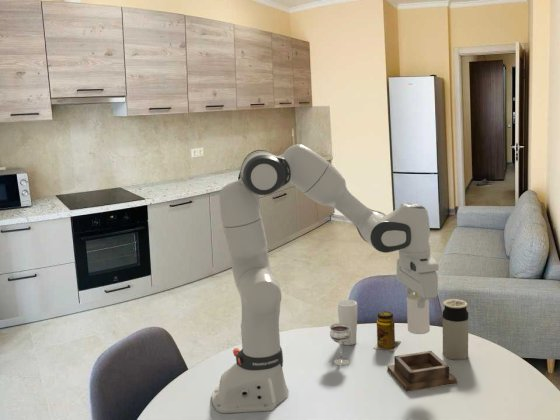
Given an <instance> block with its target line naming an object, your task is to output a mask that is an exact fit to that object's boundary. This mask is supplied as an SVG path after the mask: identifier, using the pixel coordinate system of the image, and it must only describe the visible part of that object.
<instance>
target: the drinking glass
mask: <svg viewBox="0 0 560 420" xmlns="http://www.w3.org/2000/svg"><path fill="white" fill-rule="evenodd" d="M337 316H338V323H342V324H347V325H349V326H350V329H349V330H350V332H351V335H350V338H349V339H348V340H347V341H346V342H344V343H343V344H342V345H344V346H353V345H355V344H357V330H358V329H357V327H358V302H357V301H356V300H353V299H342V300H340V301H338V302H337Z"/></svg>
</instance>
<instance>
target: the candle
mask: <svg viewBox="0 0 560 420" xmlns="http://www.w3.org/2000/svg"><path fill="white" fill-rule="evenodd" d="M418 300H419V297H418V294H417V293H415V292H414V293H410V294H407V295H406V311H407V313H406V315H407V317H406V318H407V331H408V332H409V333H410V334H413V335H426V334H428V333H429V332H430V330H431V329H430V327H431V325H430V323H431V322H430V299H427V300H426V301H425V307H424V308H419V307H418Z"/></svg>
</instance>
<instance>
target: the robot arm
mask: <svg viewBox="0 0 560 420" xmlns="http://www.w3.org/2000/svg"><path fill="white" fill-rule="evenodd" d="M237 179H238V180H235V181H233V182H229V183H227V184H226V185H225V186H223V187H222V188H221V189H220V191H219V195H218V197H219V199H218V200H219V212H220V213H219V214H220V218H221V223H222V228H223V232H224V235H225V240H226V245H227V249H228V253H229V258H230V264H231V265H230V266H231V269H232V276H233V279H234V283H235V288H236V290H237V292H238V293H239V297H240V302H241V319H240V320H241V321H240V334H241V336H240V337H241V345H242V346H241V348H242V349H241V350H240V349H239V348H238V347H236V348H235V347H234V349H233V350H232V353H233V356H234V357H235V361H236V362H235V363H234V364H233V365H232V366H231V367H230V368H228V369H227V370H226V371H224V372H223V373H222V374H221V377H220V380H219V384H218V386H217V387H215V388H214V389H213V392H212V395H211V402H212V405H213V408H214V410H215V411H217V412H218V413H220V414H231V413H249V412H251V413H252V412H267V411H270V412H271V411H273V410H274V409H275V408H276V407H277V405H279V404H280V403H282V402H283V401H284V400H286V399H287V397H288V396H289V388H288V386H287V383H286V380H285V375H284V370H283V365H284V355H283V349H282V347H281V336H280V335H281V334H280V316H281V315H280V313H281V303H282V288H281V285H280V282H279V281H278V280H277V278H276V277H275V276H274V273H273V272H272V269H271V265H270V259H269V250H268V243H269V242H268V240H267V236H266V235H267V234H266V230H265V225H264V221H263V217H262V211H261V208H260V197H261V196H267V195H272V194H273V193H275V192H277V191H278V190H280V189H281V188H282V187H285V186H286V185H287V184H288V183H289V184H291V185H292V186H293V187H296V188H297V189H298V190H299V191H300V192H301V193H302V194H303V195H305V196H306V197H307V198H309V199H310V200H312V201H314V202H315V203H317V204H319V205H321V206H324V207H326V206H327V207H330V208H333V209H335V210H336V211H337V212H339V213H340V214H341V215H343V216H344V217H345V218H346V219H348V220H349V221H350V222H351V223H352V224H353V225H354V226H355V228H356V230H357V233H358V234H359V236H360V237H361V238H362V240H363V241H365V242H366V243H368V244H369V245H370V246H371V247H372V248H374V249H375V250H376V251H377V252H380V253H385V254H386V253H388V254H389V253H393V252H396V251H398V255H399V256H398V257H399V258H397V261H396V278H397V281H399V282H400V283H401V284H403V285H404V286H405V291H406V294H407V295H408V294H410V293H417V294H418V297H419V300H418V307H419V308H424V307H425V301H426V300H427V299H429V300H433V299H436V298H437V296H438V294H439V293H438V292H439V283H438V282H439V279H438V278H439V277H438V273H437V271H439V263H438V262H437V260H435V258H434V256H433V255H432V253H431V246H430V242H429V239H430V236H431V229H430V218H429V217H430V216H429V212H428V210H427V209H426V207H425V206H422V205H420V204H417V203H410V202H409V203H408V202H405V203H400V204H399V206H398V207H397V208H396V209H394V210H393V211H392V212H390V213H388V214H385V213H384V212H381V211H378V210H374V209H371V208H369V207H367V205H364V204H363V203H362V202H361V201H360V200H359V199H358V198H356V197H355V196H354V195H353V194H352V192H350V191H349V190H348V187H347V184H346V180H345V178H344V177H343V175H342V174H341V173H340V171H339V170H338V169H336V167H334V166H333V164H332V163H330V162H329V161H328V160H327V159H325V158H324V157H323V156H321V155H320V154H319V153H317V152H315V150H312V149H311V148H309V147H308V146H305V145H304V144H300V143H297V144H292V145H290V146H289V147H288V148H287V149H285V151H284V152H283V153H281V154H280V155H274V154H273V153H271V152H270V151H267V150H264V149H257V150H254V151H251V152H250V153H248V155H246V156H245V158H244V159H243V161H242V164H241V166H240V170H239V174H238V177H237Z"/></svg>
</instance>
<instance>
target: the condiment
mask: <svg viewBox="0 0 560 420" xmlns="http://www.w3.org/2000/svg"><path fill="white" fill-rule="evenodd" d="M395 332H396V330H395V321H394V314H393V313H392V312H391V311H384V310H383V311H380V312H378V313H377V320H376V339H377V343H376V344H375V346H374V347H373V349H375V350H381V351H388V352H389V351H391V352H395V351H396V350H397V348H398V346H399V345H400V343H401V341H400V340H396V337H395V336H396V334H395Z"/></svg>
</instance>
